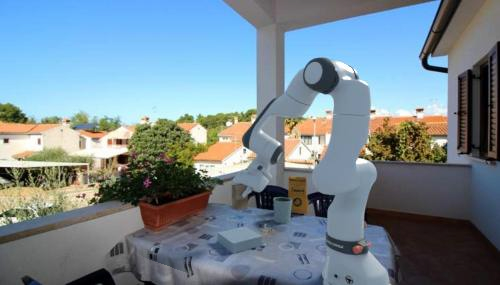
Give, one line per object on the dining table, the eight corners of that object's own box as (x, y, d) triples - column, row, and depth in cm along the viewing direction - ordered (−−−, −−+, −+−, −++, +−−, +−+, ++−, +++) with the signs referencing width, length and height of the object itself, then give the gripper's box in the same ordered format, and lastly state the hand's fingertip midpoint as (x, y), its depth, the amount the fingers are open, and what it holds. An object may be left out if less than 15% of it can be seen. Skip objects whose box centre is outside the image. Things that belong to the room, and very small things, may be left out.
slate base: (262, 245, 110) (262, 236, 110) (233, 253, 103) (233, 243, 103) (244, 234, 122) (244, 226, 122) (217, 241, 114) (217, 232, 114)
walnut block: (247, 208, 111) (247, 185, 111) (237, 210, 108) (237, 186, 108) (241, 206, 115) (241, 183, 115) (231, 207, 113) (231, 184, 112)
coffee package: (307, 216, 151) (307, 178, 150) (286, 213, 155) (286, 177, 155) (309, 211, 160) (309, 175, 160) (289, 209, 165) (289, 174, 164)
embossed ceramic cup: (272, 217, 147) (273, 196, 147) (290, 218, 147) (291, 197, 147) (273, 223, 137) (273, 201, 137) (293, 224, 137) (293, 201, 137)
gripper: (240, 163, 124) (222, 186, 119) (266, 168, 107) (246, 194, 102) (248, 172, 126) (231, 194, 121) (275, 178, 109) (255, 204, 104)
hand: (238, 195), depth 111 cm, fingers closed on walnut block, 5 cm apart
